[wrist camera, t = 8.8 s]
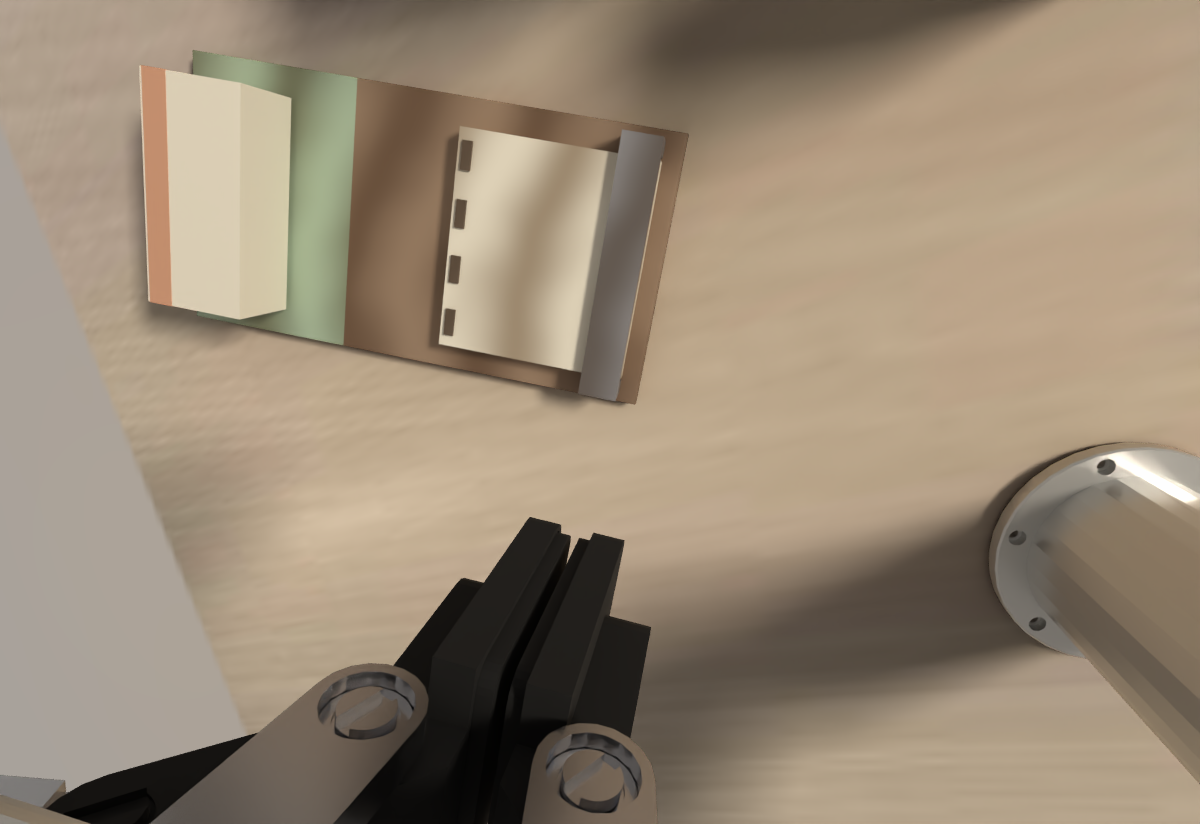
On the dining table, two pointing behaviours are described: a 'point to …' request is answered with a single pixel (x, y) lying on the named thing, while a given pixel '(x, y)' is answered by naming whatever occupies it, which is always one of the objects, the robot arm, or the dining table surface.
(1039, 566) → the robot arm
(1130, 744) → the dining table surface
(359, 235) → the board
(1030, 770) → the dining table surface
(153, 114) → the stub
